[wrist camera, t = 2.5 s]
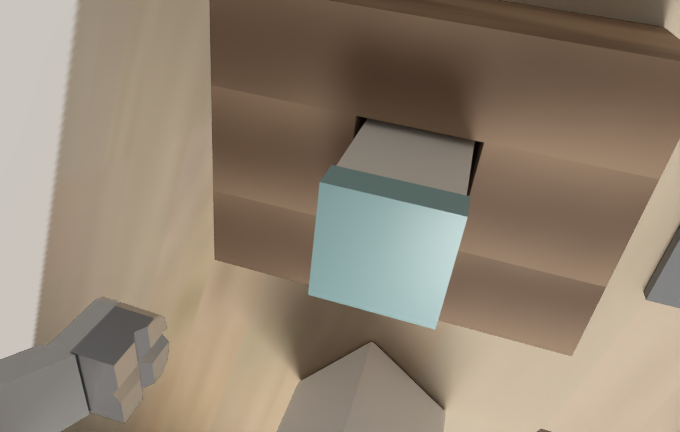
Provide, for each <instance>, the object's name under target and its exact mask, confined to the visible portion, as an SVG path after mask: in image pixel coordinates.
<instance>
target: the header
mask: <svg viewBox="0 0 680 432" xmlns="http://www.w3.org/2000/svg"><path fill="white" fill-rule="evenodd" d="M210 46H211V97H212V148H213V199H214V250H215V260H218V261H222V262H225V263H229V264H233V265H236V266H240V267H244V268H247V269H251V270H255V271H258V272H262V273H266V274H270V275H273V276H277V277H281V278H284V279H288V280H292V281H295V282H299V283H303V284H307V285H309V281H310V271H311V261H312V252H313V242H314V232H315V223H316V213H317V203H318V194H319V184H320V181H321V179H322V178H323V177H324V175H325V174H326V172H327V171H328V169H329V168H330V166H331V165H335V166H336V165H337V164H338V162H339V161H340V159H341V158H342V156H343V155H344V153H345V152H346V150H347V149H348V147H349V146H350V144H351V143H352V141H353V140H354V138H355V137H356V135H357V134H358V132H359V131H360V129H361V128H362V126H363V125H364V123H365V122H366V120H367V119H368V118H370V119H374V120H379V121H384V122H389V123H394V124H398V125H403V126H408V127H413V128H417V129H422V130H427V131H432V132H436V133H441V134H446V135H451V136H456V137H460V138H465V139H470V140H475V141H476V144H475V147H474V151H473V156H472V163H471V169H470V176H469V183H468V190H467V196H471V197H470V204H469V212H468V218H467V221H466V225H465V228H464V232H463V235H462V239H461V242H460V246H459V249H458V253H457V256H456V260H455V263H454V267H453V270H452V274H451V277H450V281H449V284H448V288H447V291H446V295H445V298H444V302H443V305H442V309H441V312H440V316H439V319H438V320H440V321H443V322H447V323H451V324H454V325H458V326H462V327H465V328H469V329H473V330H476V331H480V332H484V333H488V334H491V335H495V336H499V337H502V338H506V339H510V340H513V341H517V342H521V343H525V344H528V345H532V346H536V347H539V348H543V349H547V350H550V351H554V352H558V353H561V354H565V355H569V356H572V355H573V353H574V351H575V349H576V347H577V345H578V343H579V340H580V338H581V336H582V334H583V332H584V330H585V328H586V326H587V324H588V322H589V320H590V318H591V316H592V314H593V312H594V310H595V308H596V306H597V304H598V302H599V300H600V298H601V296H602V294H603V292H604V290H605V288H606V286H607V284H608V282H609V280H610V278H611V276H612V274H613V272H614V270H615V268H616V266H617V264H618V262H619V260H620V258H621V256H622V254H623V252H624V250H625V248H626V246H627V244H628V242H629V240H630V238H631V235H632V233H633V231H634V229H635V227H636V225H637V223H638V221H639V219H640V217H641V215H642V213H643V211H644V209H645V207H646V205H647V203H648V201H649V199H650V197H651V195H652V193H653V191H654V189H655V187H656V185H657V183H658V181H659V179H660V177H661V175H662V173H663V171H664V169H665V167H666V165H667V163H668V161H669V159H670V157H671V155H672V153H673V151H674V149H675V147H676V145H677V143H678V141H679V139H680V39H678V38H677V37H676V36H675V35H673V34H672V33H671V32H669V31H668V30H667V29H666V28H664V27H659V26H653V25H647V24H641V23H635V22H629V21H623V20H616V19H610V18H604V17H598V16H592V15H586V14H580V13H574V12H567V11H561V10H555V9H549V8H543V7H537V6H531V5H525V4H518V3H512V2H506V1H500V0H210Z"/></svg>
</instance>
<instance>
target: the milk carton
mask: <svg viewBox="0 0 680 432" xmlns="http://www.w3.org/2000/svg"><path fill="white" fill-rule="evenodd" d="M444 423H445V412H444V410H443V409H442V408H441V407H440V406H439V405H438V404H437V403H436V402H435V401H434V400H433V399H432V398H430V397H429V396H428V395H427V394H426V393H425V392H424V391H423V390H422V389H421V388H420V387H419V386H418V385H417V384H416V383H415V382H414V381H413V380H412V379H411V378H410V377H409V376H408V375H407V374H406V373H405V372H404V371H403V370H402V369H401V368H400V367H398V366H397V365H396V364H395V363H394V362H393V361H392V360H391V359H390V358H389V357H388V356H387V355H386V354H385V353H384V352H383V351H382V350H381V349H380V348H379V347H378V346H377V345H376V344H374V343H373V342H370V343H368V344H366V345H364V346H363V347H361V348H359V349H357V350H355V351H354V352H352V353H350V354H348V355H346V356H345V357H343V358H341V359H339V360H337V361H336V362H334V363H332V364H330V365H328V366H327V367H325V368H323V369H321V370H319V371H318V372H316V373H314V374H312V375H310V376H309V377H307V378H305V379H303V380H302V381H300V382H299V383H298V385H297V387H296V389H295V391H294V394H293V396H292V398H291V400H290V403H289V405H288V407H287V409H286V412H285V414H284V416H283V419H282V421H281V423H280V425H279V428H278V430H277V432H443V431H444Z"/></svg>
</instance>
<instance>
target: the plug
mask: <svg viewBox="0 0 680 432" xmlns="http://www.w3.org/2000/svg"><path fill="white" fill-rule="evenodd" d="M474 142H475V140H470V139H465V138H460V137H456V136H451V135H446V134H441V133H436V132H432V131H427V130H422V129H417V128H413V127H408V126H403V125H398V124H394V123H389V122H384V121H379V120H374V119H370V118H368V119H367V120H366V122H365V123H364V125H363V126H362V128H361V129H360V131H359V132H358V134H357V135H356V137H355V138H354V140H353V141H352V143H351V144H350V146H349V147H348V149H347V150H346V152H345V153H344V155H343V156H342V158H341V159H340V161H339V162H338V164H337V165H336V166H335V165H331V166H330V168H329V169H328V171H327V172H326V174H325V175H324V177H323V178H322V179H321V181H320V184H319V194H318V203H317V213H316V223H315V232H314V242H313V252H312V261H311V271H310V281H309V290H308V295H311V296H314V297H318V298H322V299H325V300H329V301H333V302H336V303H340V304H344V305H347V306H351V307H355V308H358V309H362V310H365V311H369V312H373V313H376V314H380V315H384V316H387V317H391V318H395V319H398V320H402V321H406V322H409V323H413V324H417V325H420V326H424V327H427V328H431V329H435V330H436V326H437V323H438V319H439V316H440V312H441V309H442V305H443V302H444V298H445V295H446V291H447V288H448V284H449V281H450V277H451V274H452V270H453V267H454V263H455V260H456V256H457V253H458V249H459V246H460V242H461V239H462V235H463V232H464V228H465V225H466V221H467V218H468V212H469V204H470V197H471V196H467V190H468V183H469V176H470V169H471V163H472V156H473V149H474Z"/></svg>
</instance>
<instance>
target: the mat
mask: <svg viewBox="0 0 680 432" xmlns="http://www.w3.org/2000/svg"><path fill="white" fill-rule="evenodd" d="M644 295H645V298H646V300H649V301H653V302H657V303H661V304H665V305H669V306H673V307H677V308H680V227H679V228H678V230H677V232H676V234H675V236H674V237H673V239H672V241H671V243H670V245H669V247H668V248H667V250H666V252H665V254H664V256H663V258H662V259H661V261H660V263H659V265H658V267H657V268H656V270H655V272H654V274H653V276H652V278H651V279H650V281H649V283H648V285H647V287H646V289H645V290H644Z"/></svg>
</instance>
